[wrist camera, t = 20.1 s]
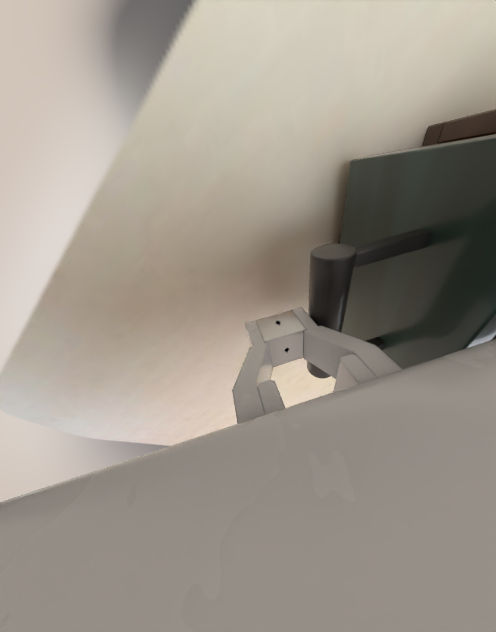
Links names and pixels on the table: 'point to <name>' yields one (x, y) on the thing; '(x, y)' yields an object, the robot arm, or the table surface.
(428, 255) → the drawer
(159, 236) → the table surface
